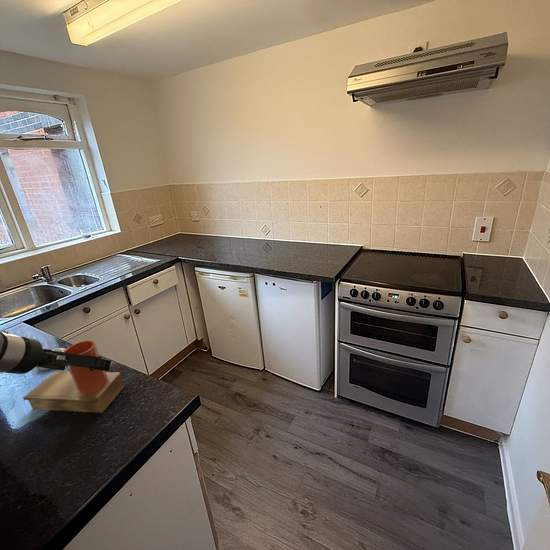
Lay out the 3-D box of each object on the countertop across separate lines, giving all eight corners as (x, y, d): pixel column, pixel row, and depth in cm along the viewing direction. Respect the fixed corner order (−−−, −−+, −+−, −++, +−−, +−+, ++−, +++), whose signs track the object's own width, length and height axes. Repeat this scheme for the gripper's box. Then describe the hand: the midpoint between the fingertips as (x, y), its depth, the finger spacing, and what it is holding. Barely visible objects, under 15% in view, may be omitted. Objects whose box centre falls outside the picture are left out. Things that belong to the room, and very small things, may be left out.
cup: (71, 393, 80) (55, 356, 76) (91, 374, 87) (77, 340, 83) (95, 394, 79) (80, 357, 75) (113, 375, 86) (100, 340, 82)
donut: (77, 354, 107) (54, 353, 109) (74, 346, 106) (51, 345, 108) (54, 373, 98) (29, 371, 100) (50, 364, 97) (25, 363, 99)
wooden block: (30, 411, 83) (22, 397, 81) (61, 384, 93) (55, 370, 91) (100, 415, 79) (94, 400, 77) (125, 386, 89) (120, 372, 87)
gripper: (69, 335, 62) (130, 351, 81) (-30, 335, 66) (51, 351, 85) (57, 373, 59) (124, 381, 78) (-46, 371, 63) (42, 379, 82)
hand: (86, 365), depth 81 cm, fingers open, 13 cm apart
